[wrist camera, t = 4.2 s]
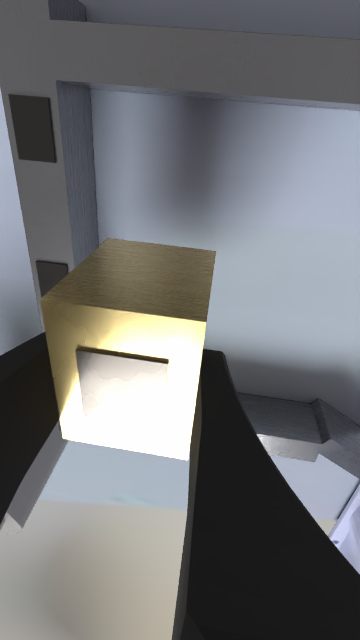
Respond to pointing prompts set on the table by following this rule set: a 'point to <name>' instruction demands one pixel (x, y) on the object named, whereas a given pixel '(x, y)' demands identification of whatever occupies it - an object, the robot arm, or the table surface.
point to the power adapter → (33, 483)
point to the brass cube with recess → (130, 345)
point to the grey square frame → (165, 79)
